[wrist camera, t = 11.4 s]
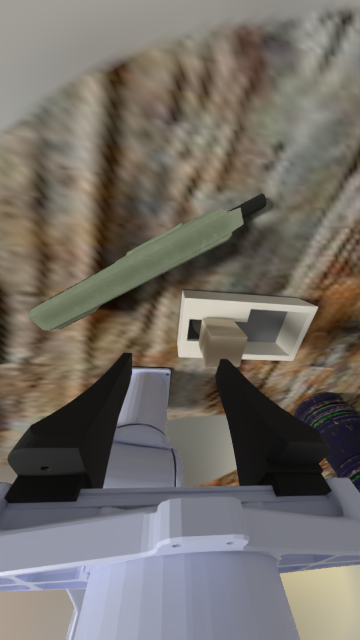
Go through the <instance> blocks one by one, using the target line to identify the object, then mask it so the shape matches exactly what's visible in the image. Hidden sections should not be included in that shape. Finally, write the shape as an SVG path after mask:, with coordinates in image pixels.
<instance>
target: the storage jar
mask: <svg viewBox="0 0 360 640" xmlns="http://www.w3.org/2000/svg"><path fill="white" fill-rule="evenodd" d="M294 417H296V418H298V419H299V420H301V421H303V422H304V423H306V424H308V425H310V426H311V427H313V428H315V429H317V430H318V431H319V432H320V434H321V435H322V436H323V438H324V439H325V440H326V442H327V443H328V445H329V446H330V452H329V454H328V455H327V456H326V457H325V459H326V460H327V461H328V463H329V464H330V465H331V467H332V468H333V470H334V471H335V472H336V475H337V478H349V479H350V480H351V482H352V483H353V485H354V486H355V487H356V489H357V490H358V491H359V493H360V414H359V412H357V411H356V410H355V409H354V408H353V407H352V406H350V405H349V404H348V403H346V402H345V401H343V399H342V398H341V397H340V396H339V395H337V394H335V393H331V392H325V393H319V394H316V395H313V396H311V397H309V398H307V399H305V400H304V401H303V402H301V403H300V404H299V405H298V406H297V408H296V410H295V412H294Z"/></svg>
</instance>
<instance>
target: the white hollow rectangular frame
mask: <svg viewBox="0 0 360 640" xmlns="http://www.w3.org/2000/svg"><path fill="white" fill-rule="evenodd" d="M317 309H318V307H317V306H315V305H313V304H310V303H308V302H306V301H303V300H301V299H299V298H295V297H282V296H268V295H254V294H241V293H227V292H214V291H200V290H186V289H182V297H181V308H180V318H179V328H178V338H177V345H178V356H179V357H193V358H203V357H202V354H201V351H200V348H199V345H198V344H199V337H200V335H199V334H198V333H197V332H196V331H195V330H194V327H193V324H192V319H199V320H202V318H213V319H232V320H233V321H234V322H235V323H236V324H237V325H238V327H239V328H240V329H241V330H242V331H243V332H244V333H245V335H246V336H247V337H248V339H247V342H246V345H245V349H244V352H243V356H242V359H254V360H285V361H293V359H294V357H295V355H296V353H297V351H298V349H299V347H300V345H301V342H302V340H303V338H304V336H305V334H306V332H307V330H308V328H309V326H310V324H311V321H312V319H313V317H314V315H315V313H316V311H317Z"/></svg>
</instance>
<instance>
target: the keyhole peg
mask: <svg viewBox="0 0 360 640" xmlns="http://www.w3.org/2000/svg"><path fill="white" fill-rule="evenodd" d="M192 324H193V327H194V330H195V331H196V332H197V333H198V334H199V335H200V337H199V344H198V345H199V348H200V351H201V354H202V357H203V360H204V363H205V366H206V367H218V366H219V362H220V359H228V360H229V361H230V362H231V363H232V364H233V365H234V366H235V367H239V366H240V362H241V359H242V356H243V352H244V349H245V345H246V342H247V339H248V337H247V336H246V335H245V333H244V332H243V331H242V330H241V329H240V328H239V327H238V325H237V324H236V323H235V322H234V321H233V320H232V319H213V318H202V320H199V319H192Z"/></svg>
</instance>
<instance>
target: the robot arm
mask: <svg viewBox="0 0 360 640" xmlns="http://www.w3.org/2000/svg"><path fill="white" fill-rule="evenodd" d="M167 373H168V374H167ZM170 375H171V370H170V369H169V368H134V367H132V353H123V354H122V355H121V356H120V358H119V359H118V360H117V361H116V362H115V363H114V364H113V366H112V367H111V368H110V369H109V370H108V371H107V372H106V373H105V374H104V375H103V376H102V377H101V378H100V379H99V380H98V381H97V382H95V383H94V384H93V385H92V386H91V387H90V388H88V389H87V390H86V391H85V392H83V393H82V394H81V395H79V396H78V397H77V398H75V399H74V400H73V401H71V402H70V403H68V404H67V405H65V406H64V407H62V408H61V409H59V410H57V411H56V412H54V413H52V414H51V415H49V416H47V417H45V418H44V419H42V420H40V421H38V422H37V423H35V424H33V425H31V426H30V427H29V429H28V430H27V431H26V432H25V433H24V435H23V436H22V437H21V439H20V440H19V441H18V443H17V444H16V445H15V447H14V448H13V450H12V451H11V452H10V454H9V455H8V462H9V465H10V466H11V467H12V468H13V470H14V471H15V472H16V473H17V475H18V477H17V478H16V480H15V482H14V483H13V485H12V484H10V483H5V482H0V591H30V590H64V589H66V590H67V592H68V594H69V596H70V598H71V600H72V602H73V605H74V611H73V615H72V618H71V622H70V626H69V629H68V633H67V637H66V640H300V638H299V635H298V631H297V629H296V625H295V622H294V619H293V616H292V613H291V609H290V606H289V603H288V600H287V597H286V594H285V590H284V587H283V584H282V581H281V578H280V575H279V574H280V573H288V572H296V571H304V570H313V569H321V568H330V567H340V566H349V565H360V493H359V491H358V490H357V489H356V487H355V486H354V485H353V483H352V482H351V480H350V479H349V478H328V479H324V477H323V476H322V474H321V473H322V472H323V469H322V468H321V466H320V465H319V463H320V462H321V461H322V460H323V459H324V458H325V457H326V456H327V455H328V454H329V452H330V446H329V445H328V443H327V442H326V440H325V439H324V438H323V436H322V435H321V434H320V432H319V431H318V430H317V429H315V428H313V427H311V426H310V425H308V424H306V423H304V422H303V421H301V420H299V419H298V418H296V417H294V416H293V415H291V414H290V413H288V412H287V411H285V410H284V409H282V408H281V407H279V406H278V405H277V404H275V403H274V402H272V401H271V400H270V399H269V398H267V397H266V396H265V395H264V394H262V393H261V392H260V391H259V390H258V389H257V388H256V387H255V386H253V385H252V384H251V383H250V382H249V381H248V380H247V379H246V378H245V377H244V376H243V375H242V374H241V373H240V372H239V370H238V369H237V368H236V367H235V366H234V365H233V364H232V363H231V362H230V361H229V360H228V359H220V362H219V366H218V369H217V372H216V376H215V378H216V384H217V388H218V392H219V395H220V398H221V401H222V404H223V407H224V410H225V413H226V417H227V420H228V425H229V429H230V434H231V438H232V443H233V448H234V454H235V459H236V465H237V472H238V478H239V485H240V486H214V487H184V468H183V463H182V459H181V457H180V455H179V453H178V451H177V449H175V448H171V437H167V408H168V398H169V387H170Z"/></svg>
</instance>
